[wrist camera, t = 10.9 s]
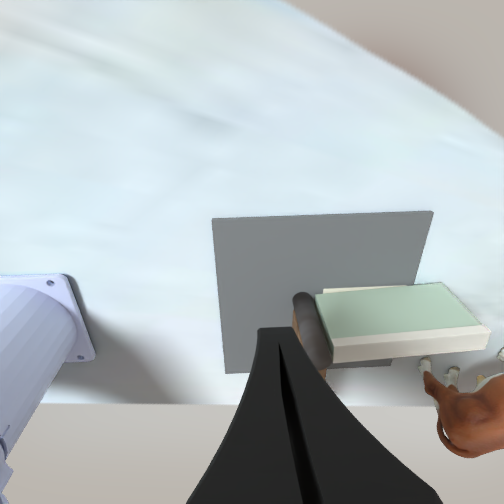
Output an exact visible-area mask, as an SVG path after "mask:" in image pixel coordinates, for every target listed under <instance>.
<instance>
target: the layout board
mask: <svg viewBox="0 0 504 504" xmlns="http://www.w3.org/2000/svg"><path fill="white" fill-rule="evenodd" d="M433 213H434V212H432V211H410V212H382V213H353V214H325V215H297V216H269V217H241V218H213V219H212V230H213V241H214V252H215V263H216V274H217V285H218V296H219V307H220V318H221V330H222V341H223V352H224V363H225V374H233V373H250V372H251V368H252V364H253V360H254V356H255V351H256V345H257V330H258V329H259V328H267V327H289V326H291V327H292V320H293V310H294V306H293V302H292V299H293V297H294V295H295V294H297V293H299V292H307V293H309V294H310V295H311V298H312V301H313V304H314V307H315V294H325V293H336V292H347V291H358V290H369V289H380V288H390V287H401V286H412V285H413V284H414V280H415V277H416V273H417V270H418V266H419V263H420V259H421V256H422V252H423V249H424V245H425V241H426V238H427V234H428V231H429V227H430V224H431V220H432V217H433ZM315 310H316V309H315ZM316 313H317V312H316ZM317 316H318V315H317ZM318 319H319V318H318ZM319 322H320V321H319ZM320 325H321V324H320ZM321 328H322V327H321ZM322 331H323V330H322ZM323 334H324V333H323ZM324 337H325V336H324ZM325 340H326V339H325ZM326 343H327V342H326ZM327 346H328V345H327ZM328 349H329V348H328ZM329 352H330V351H329ZM330 355H331V354H330ZM391 362H392V358H387V359H376V360H365V361H354V362H343V363H333V362H332V363H331V365H330V366H329V367H328V368H327V369H335V368H356V367H376V366H390V365H391Z"/></svg>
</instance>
